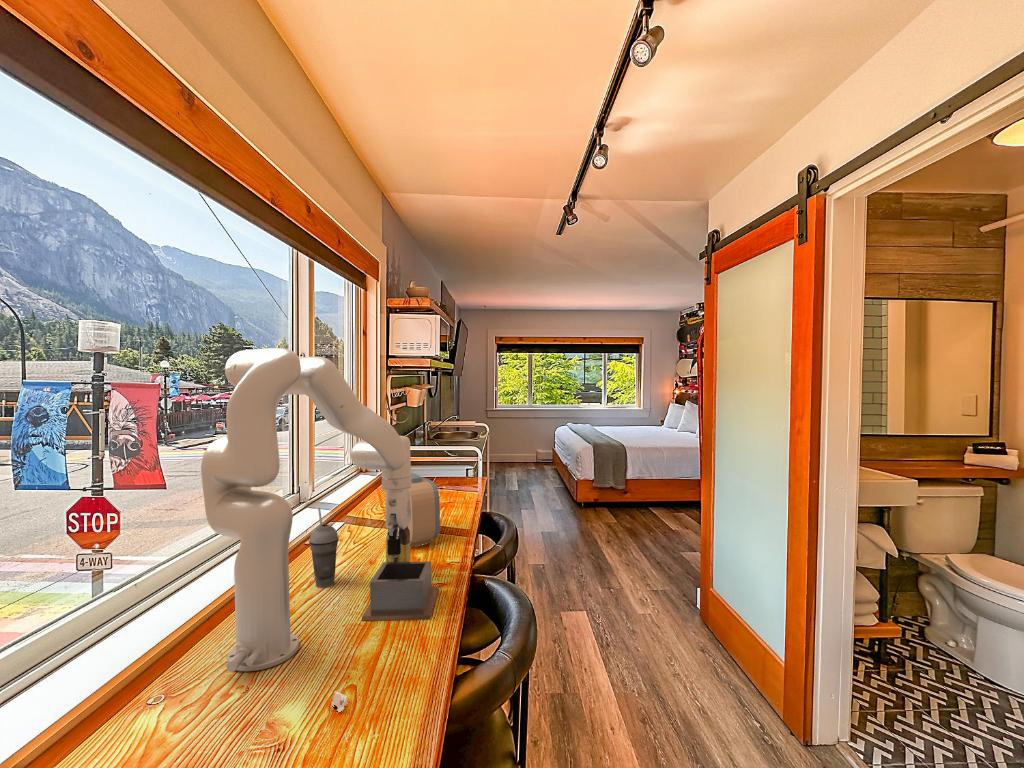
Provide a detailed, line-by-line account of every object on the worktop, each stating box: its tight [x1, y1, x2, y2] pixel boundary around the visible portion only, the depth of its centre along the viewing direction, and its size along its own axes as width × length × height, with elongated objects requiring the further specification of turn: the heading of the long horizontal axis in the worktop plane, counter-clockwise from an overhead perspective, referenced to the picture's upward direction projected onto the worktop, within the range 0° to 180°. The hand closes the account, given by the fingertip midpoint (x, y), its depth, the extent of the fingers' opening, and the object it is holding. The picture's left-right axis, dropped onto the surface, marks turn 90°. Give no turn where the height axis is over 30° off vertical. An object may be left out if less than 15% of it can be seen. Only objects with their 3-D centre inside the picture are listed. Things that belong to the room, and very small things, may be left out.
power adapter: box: [330, 691, 348, 713], centre depth 82 cm, size 3×3×3 cm
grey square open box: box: [361, 560, 440, 622], centre depth 119 cm, size 15×15×8 cm
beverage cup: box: [308, 507, 339, 589], centre depth 131 cm, size 7×7×20 cm
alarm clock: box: [407, 472, 441, 548], centre depth 166 cm, size 21×10×22 cm, turn 34°
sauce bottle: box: [385, 526, 411, 562], centre depth 133 cm, size 7×6×20 cm
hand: (398, 547), depth 133 cm, fingers open, 9 cm apart
